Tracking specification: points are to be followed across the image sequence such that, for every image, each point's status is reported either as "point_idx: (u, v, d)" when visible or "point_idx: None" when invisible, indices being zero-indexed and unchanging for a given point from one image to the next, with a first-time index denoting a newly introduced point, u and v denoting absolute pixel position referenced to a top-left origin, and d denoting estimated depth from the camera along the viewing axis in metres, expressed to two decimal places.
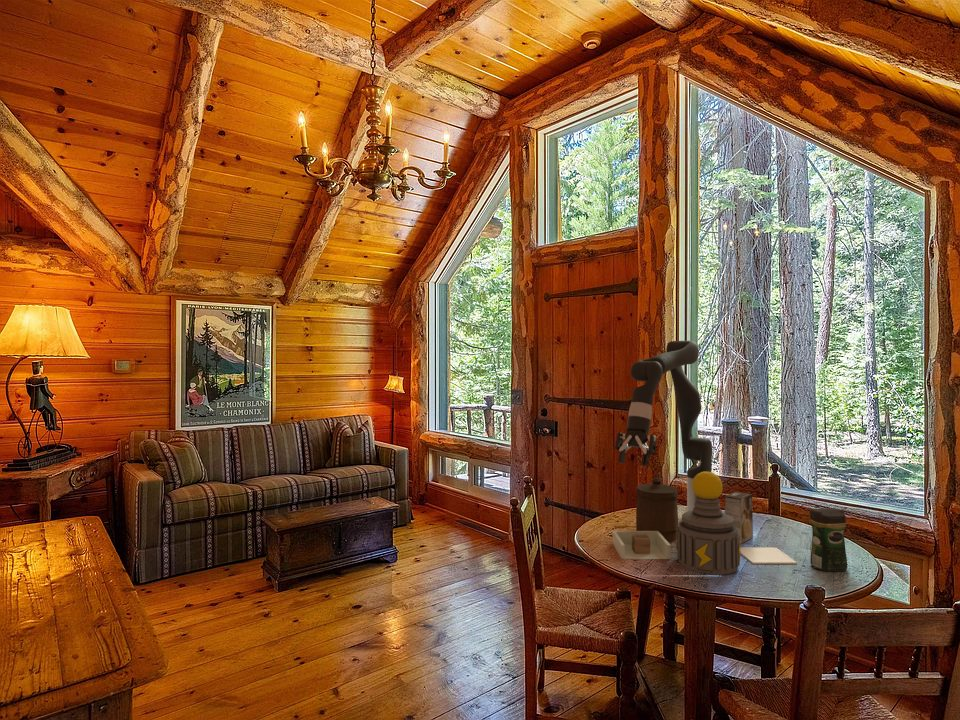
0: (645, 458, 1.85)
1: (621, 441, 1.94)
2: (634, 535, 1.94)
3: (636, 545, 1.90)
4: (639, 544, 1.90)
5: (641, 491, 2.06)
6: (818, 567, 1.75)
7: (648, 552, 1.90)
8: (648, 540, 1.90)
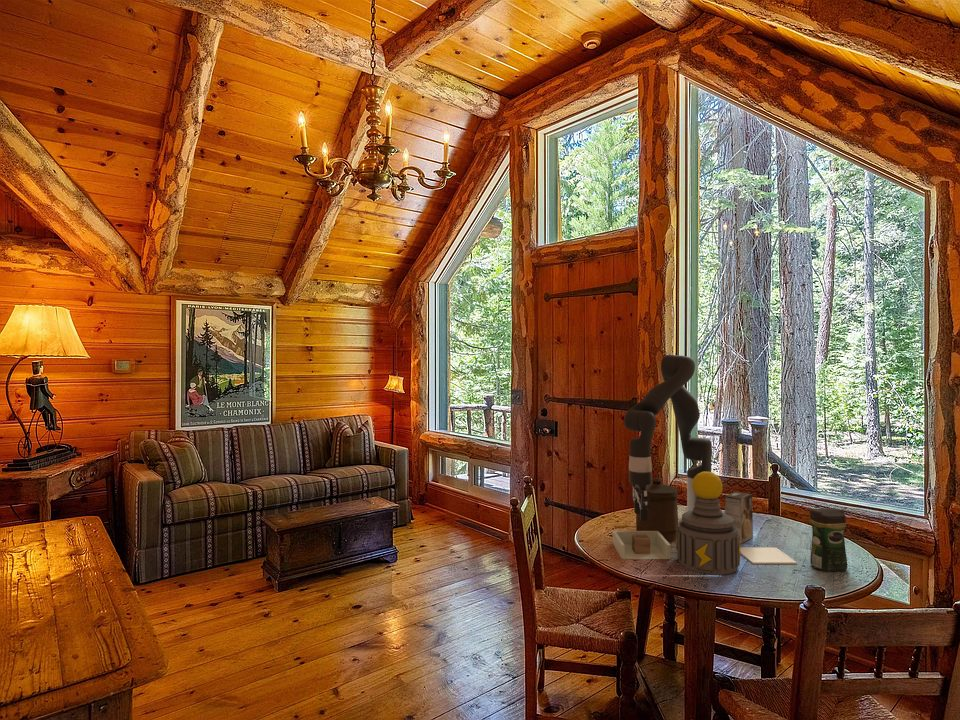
0: (641, 513, 1.87)
1: None
2: (634, 535, 1.94)
3: (636, 545, 1.90)
4: (639, 544, 1.90)
5: None
6: (818, 567, 1.75)
7: (648, 552, 1.90)
8: (648, 540, 1.90)
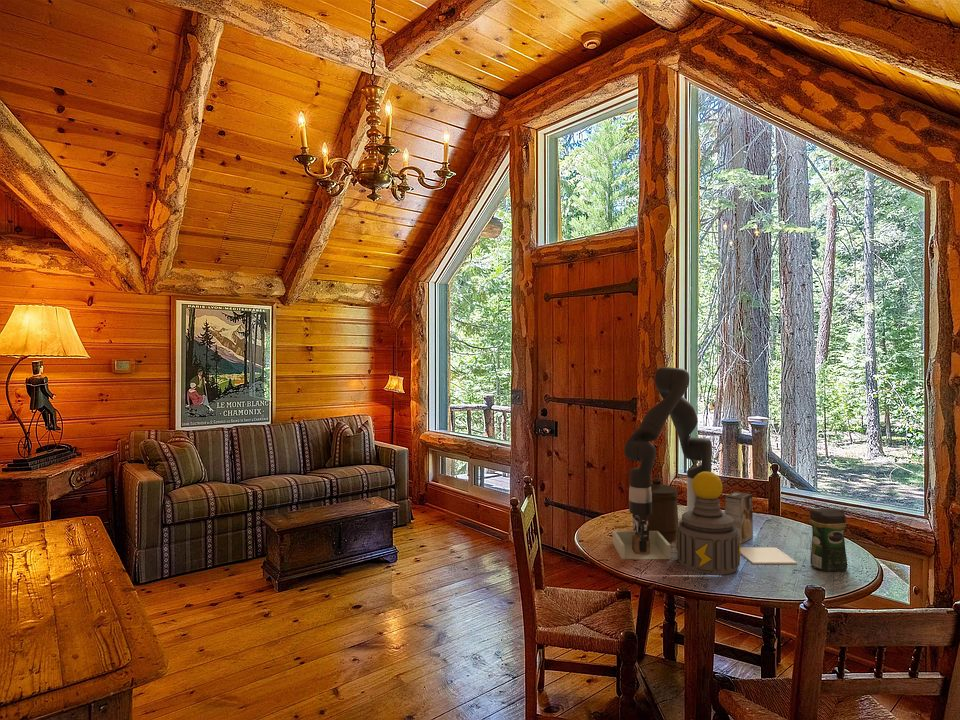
0: (641, 545, 1.89)
1: None
2: (634, 535, 1.94)
3: (636, 545, 1.90)
4: None
5: None
6: (818, 567, 1.75)
7: (648, 552, 1.90)
8: None
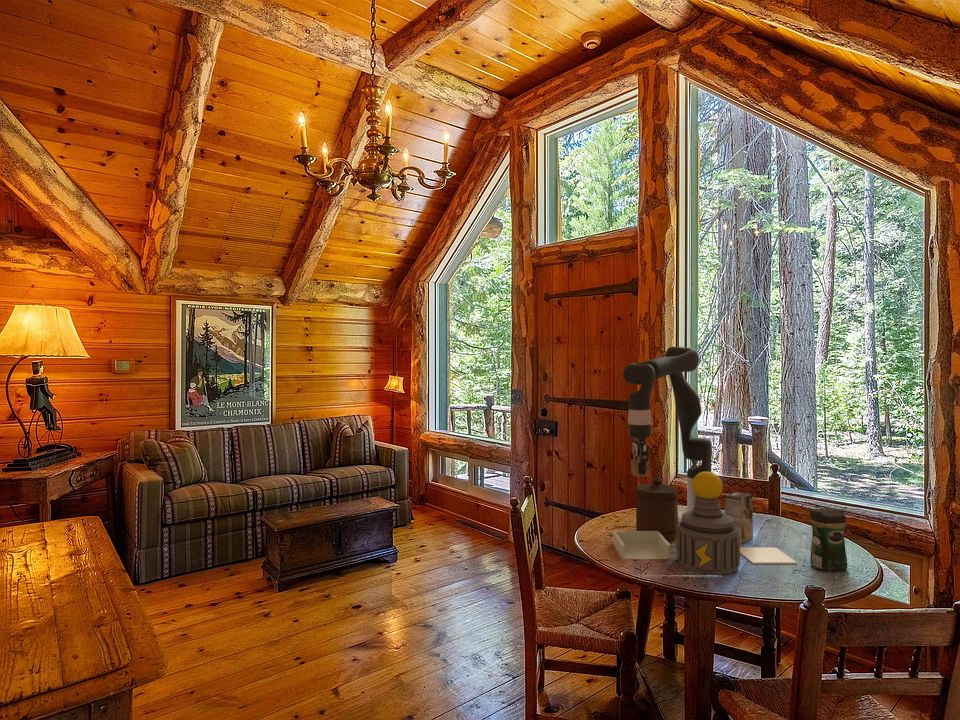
0: (640, 467, 1.89)
1: None
2: (633, 459, 1.93)
3: (635, 468, 1.89)
4: (638, 466, 1.89)
5: (641, 491, 2.06)
6: (818, 567, 1.75)
7: (647, 475, 1.89)
8: (647, 463, 1.89)
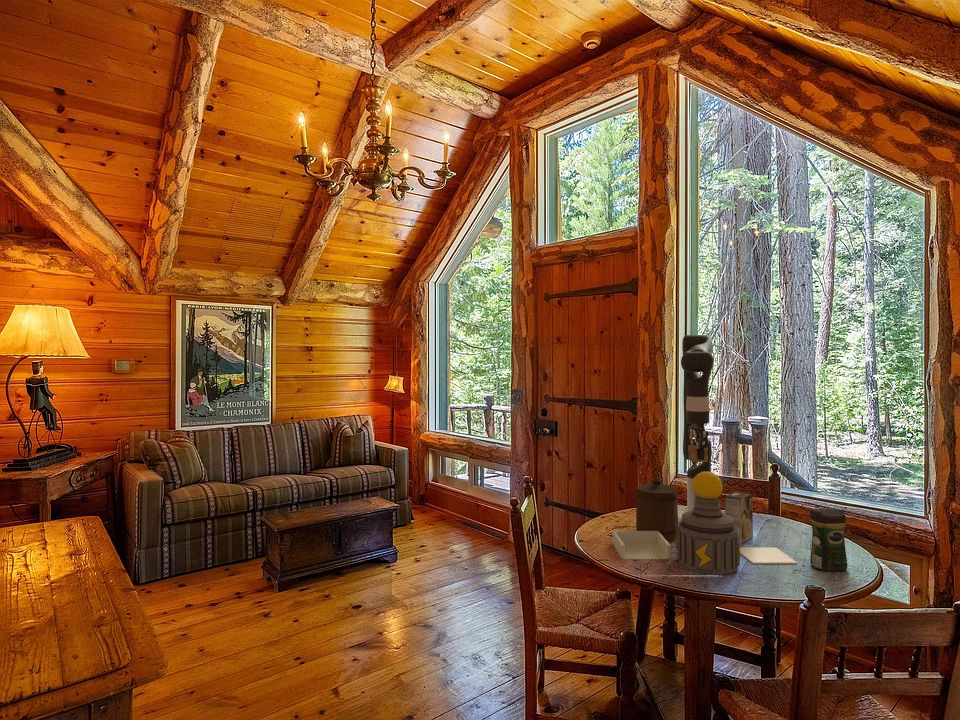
0: (699, 453, 1.93)
1: None
2: (691, 445, 1.98)
3: (694, 453, 1.94)
4: None
5: (641, 491, 2.06)
6: (818, 567, 1.75)
7: (706, 460, 1.94)
8: (706, 448, 1.93)
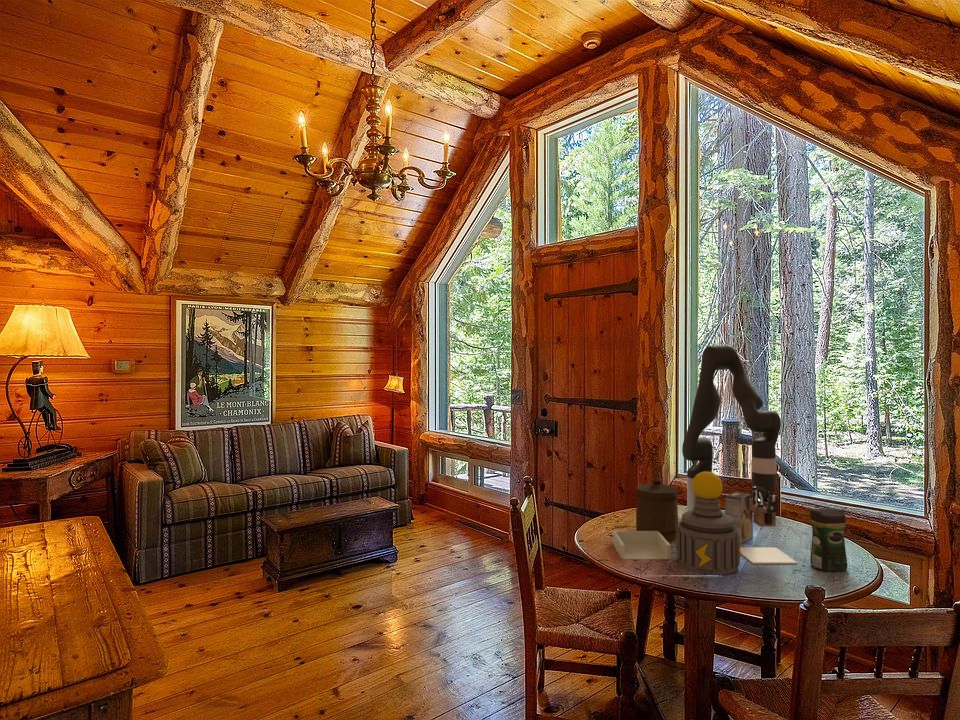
0: (766, 517, 1.84)
1: None
2: (756, 508, 1.89)
3: (761, 517, 1.85)
4: None
5: (641, 491, 2.06)
6: (818, 567, 1.75)
7: (773, 524, 1.85)
8: None
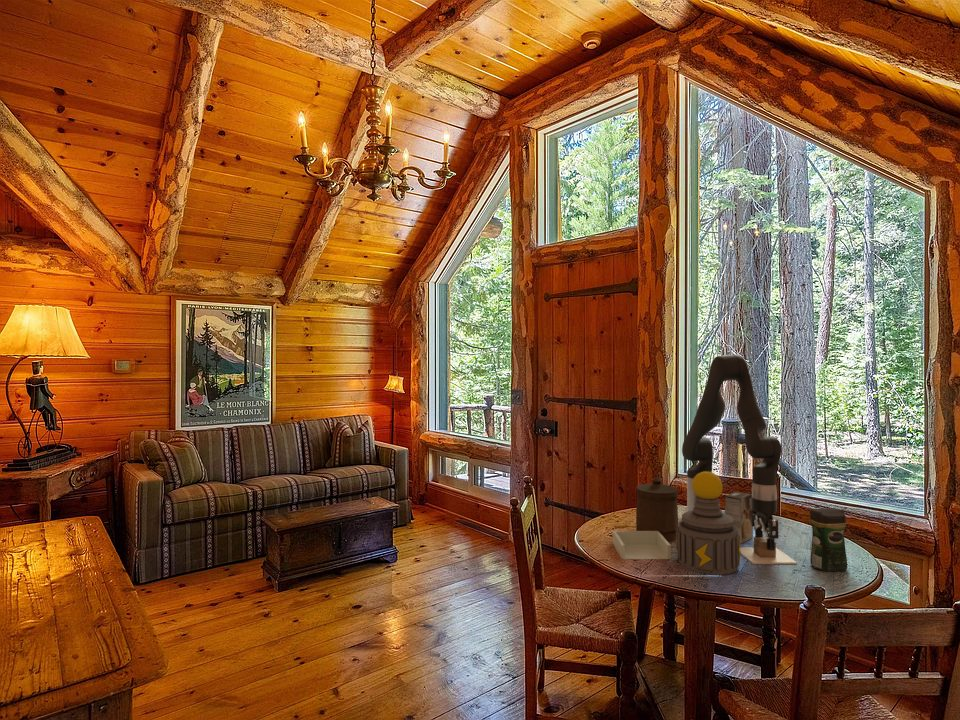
0: (769, 543, 1.83)
1: None
2: (757, 538, 1.89)
3: (761, 548, 1.85)
4: (764, 547, 1.85)
5: (641, 491, 2.06)
6: (818, 567, 1.75)
7: (773, 555, 1.85)
8: None
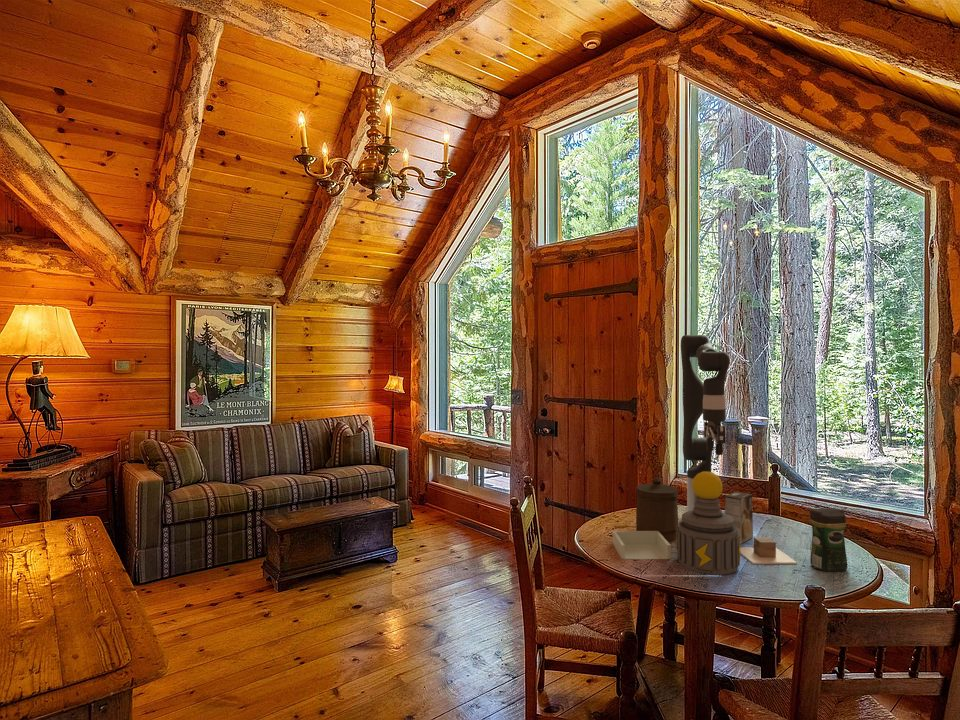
0: (717, 448, 1.97)
1: None
2: (757, 538, 1.89)
3: (761, 548, 1.85)
4: (764, 547, 1.85)
5: (641, 491, 2.06)
6: (818, 567, 1.75)
7: (773, 555, 1.85)
8: (773, 543, 1.85)
